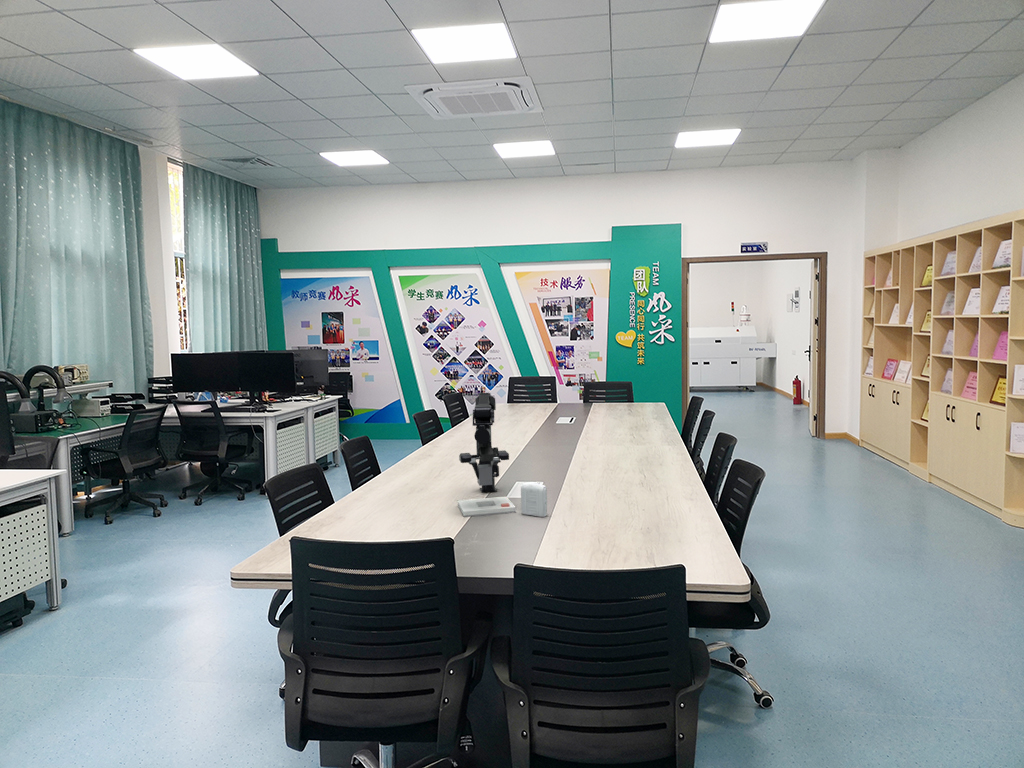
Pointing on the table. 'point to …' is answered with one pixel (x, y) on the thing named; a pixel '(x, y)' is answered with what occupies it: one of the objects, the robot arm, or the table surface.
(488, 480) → the plug
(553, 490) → the table surface
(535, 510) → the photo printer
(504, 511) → the socket plate
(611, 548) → the table surface
